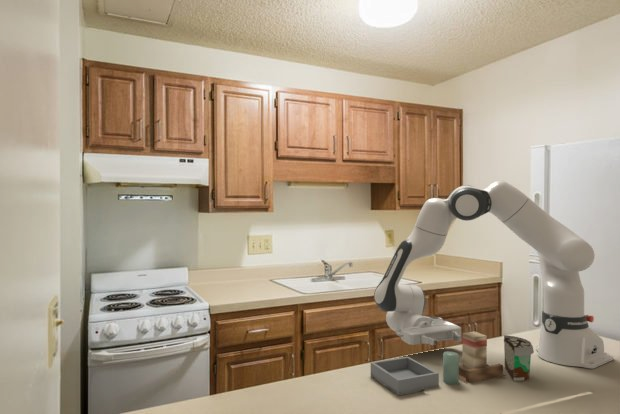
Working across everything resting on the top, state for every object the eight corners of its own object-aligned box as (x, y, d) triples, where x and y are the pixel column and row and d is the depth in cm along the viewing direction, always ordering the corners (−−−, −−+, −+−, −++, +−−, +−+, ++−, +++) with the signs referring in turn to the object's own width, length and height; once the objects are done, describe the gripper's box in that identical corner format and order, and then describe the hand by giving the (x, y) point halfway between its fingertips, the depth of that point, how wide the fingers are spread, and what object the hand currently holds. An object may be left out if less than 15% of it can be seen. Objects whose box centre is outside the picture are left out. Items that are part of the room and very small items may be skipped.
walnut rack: (481, 366, 127) (481, 354, 127) (506, 377, 119) (506, 364, 119) (443, 373, 122) (443, 360, 122) (466, 385, 113) (466, 372, 113)
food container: (540, 387, 112) (540, 349, 112) (515, 385, 113) (515, 348, 114) (526, 370, 124) (526, 335, 124) (503, 368, 126) (503, 334, 126)
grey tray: (408, 369, 125) (408, 356, 125) (438, 387, 112) (438, 373, 112) (370, 375, 120) (370, 362, 120) (398, 395, 107) (398, 380, 107)
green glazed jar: (451, 379, 117) (451, 350, 117) (462, 385, 114) (462, 355, 114) (440, 382, 116) (440, 352, 116) (450, 387, 112) (450, 357, 112)
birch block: (474, 369, 123) (474, 331, 123) (486, 375, 119) (486, 335, 119) (462, 371, 122) (462, 333, 122) (474, 377, 117) (474, 337, 117)
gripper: (393, 322, 140) (419, 334, 127) (443, 316, 147) (473, 326, 135) (393, 342, 140) (419, 355, 127) (443, 334, 147) (473, 346, 135)
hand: (447, 340), depth 131 cm, fingers open, 8 cm apart
